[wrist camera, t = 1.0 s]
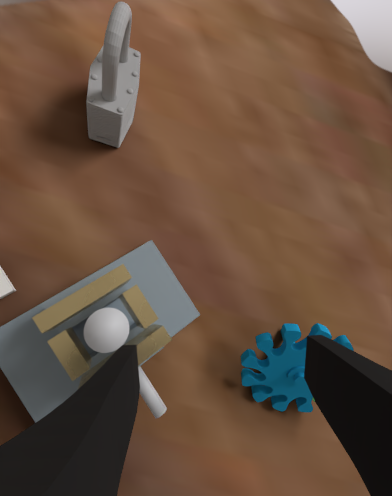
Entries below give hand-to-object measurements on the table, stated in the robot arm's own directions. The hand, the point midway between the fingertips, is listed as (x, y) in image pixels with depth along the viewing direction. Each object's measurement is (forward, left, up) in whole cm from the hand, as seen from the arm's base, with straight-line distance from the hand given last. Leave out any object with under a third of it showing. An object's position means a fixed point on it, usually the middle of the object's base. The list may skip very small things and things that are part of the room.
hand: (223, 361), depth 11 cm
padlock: (+8, +21, -14) cm, 26 cm away
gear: (+8, -9, -14) cm, 19 cm away
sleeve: (-3, +3, -9) cm, 10 cm away
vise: (-3, +2, -13) cm, 14 cm away
